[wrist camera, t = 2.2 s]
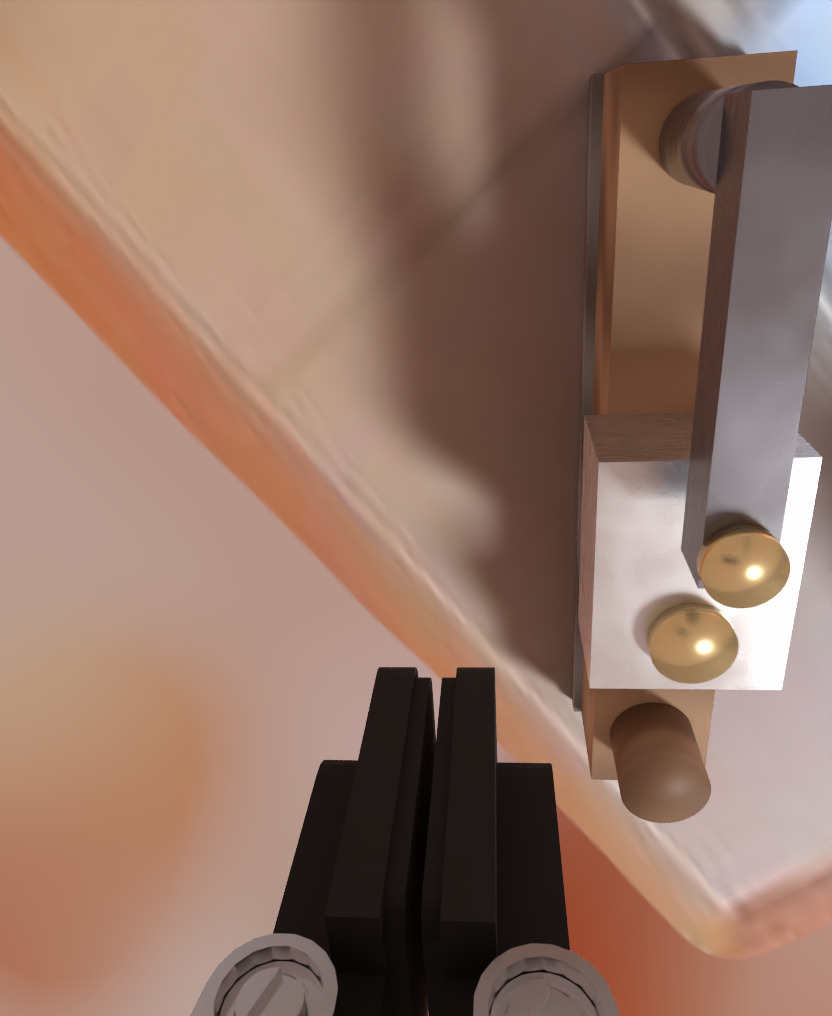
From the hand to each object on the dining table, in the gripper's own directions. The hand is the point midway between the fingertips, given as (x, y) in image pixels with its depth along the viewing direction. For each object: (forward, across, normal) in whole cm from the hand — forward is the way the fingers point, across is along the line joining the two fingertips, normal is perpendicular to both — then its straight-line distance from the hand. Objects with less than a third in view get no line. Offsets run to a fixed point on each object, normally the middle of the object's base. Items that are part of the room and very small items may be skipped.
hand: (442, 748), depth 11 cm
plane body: (+21, -7, +3) cm, 22 cm away
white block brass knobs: (+16, -7, +4) cm, 18 cm away
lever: (+16, -7, -3) cm, 18 cm away
